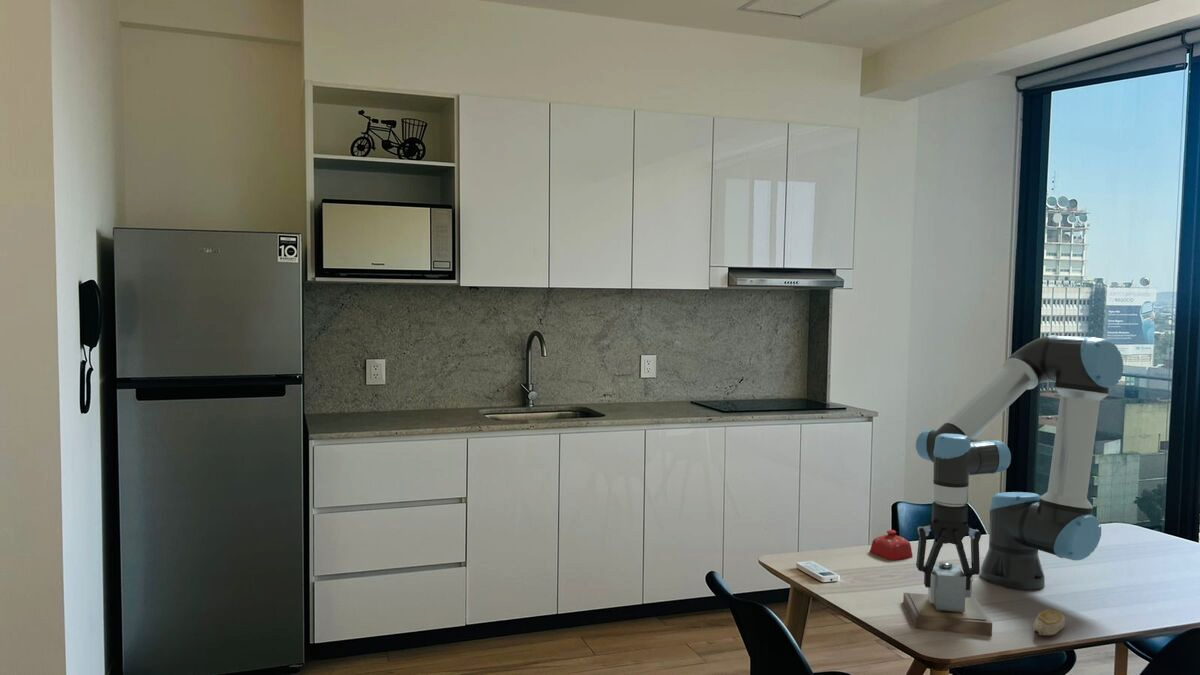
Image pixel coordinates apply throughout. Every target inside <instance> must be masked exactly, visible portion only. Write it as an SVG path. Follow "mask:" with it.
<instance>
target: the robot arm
mask: <svg viewBox="0 0 1200 675" xmlns="http://www.w3.org/2000/svg"><path fill="white" fill-rule="evenodd" d="M1123 373H1124V360H1123V357H1122V354H1121V351H1120V350H1119V348H1118V346H1117V345H1116V344H1115V343H1114V342H1112V341H1110V340H1109V339H1107V338H1100V337H1095V336H1075V335H1074V336H1070V335H1061V334H1058V335H1057V334H1053V335H1052V334H1051V335H1046V336H1045V335H1044V336H1042V337H1039V338H1037V339H1034V340H1032V341H1030V342H1029V343H1025V345H1024V346H1022V347H1020V348H1019V349H1017V350H1016V351H1015V352H1014V353H1012V354H1011V355H1010V356H1009V357H1008V358H1006V360H1004V361H1003V364H1002V369H1001V370H1000V371H999V372H998V373H996V375H994V376H993V377H992V378H991V379H990V380H989V381H988V382H987V383H986V384H985V385H984V386H982V388H980V389H979V390H978V391H977V392H976V393H975V394H974V395H973V396H972V397H971V398H970V399H969V400H968V401H966V402H965V403H964V404H963V405H962V406H961V407H960V408H959V409H958V410H957V411H956V412H955V413H953V415H952V416H950V417H949V418H948V419H947V420H946V421H945V422H944V423H943V424H942V425H940V427H939V428H937V430H934V429H926V430H923V431H921V432H920V433H919V434H918V436H917V437H916V440H915V450H916V452H917V454H918V456H920V458H922V459H924V460H926V461H928V462H932V463H933V478H932V480H933V485H932V500H933V502H931V503H932V505H931V521H930V522H929V524H928V525H926V526H922V525H918V526H917V527H916V530H917V533H918V542H917V544H918V545H917V552H916V562H915V567H916V568H917V570H918V571H919V572H923V573H924V574H923V579H924V580H923V584H924V586H925V588H926V589H927V588H928V591H927V593H928V600H929V602H930V603H934V583H935V575H934V573H933V572H932V570H933V568H934V565H935V563H937V560H938V557H939V554H940V552H941V549H942V548H943V545H944V544H945V545H946V544H951V545H955V548H956V551H957V555H958V558H959V561H960V565H961V568H962V569H961V570H962V572H963V573H964V575H965V576H966V590H970V581H971V577H972V576H975V575H980V577H981V578H982V580H984V581H986V582H987V583H989V584H991V585H994V586H997V587H1001V588H1005V589H1010V590H1017V591H1019V590H1020V591H1034V590H1039V589H1042V588H1044V587H1045V580H1046V578H1045V574H1044V570H1043V566H1042V564H1041V560H1040V557H1039V551H1041V552H1043V553H1048V554H1051V555H1053V556H1056V557H1058V558H1060V559H1066V560H1071V561H1082V560H1085V559H1086V558H1088V557H1089V556H1091V554H1092V553H1094V551H1095V550H1096V549H1097V547H1098V545H1099V543H1100V541H1101V537H1102V525H1101V524H1100V520H1099V519H1098V518H1097V517H1095V515H1093V511H1094V510H1093V509H1094V506H1093V505H1092V503H1091V502H1090V501H1089V500H1088V493H1089V484H1090V478H1091V472H1092V471H1091V470H1092V463H1093V455H1094V448H1095V439H1096V434H1097V425H1098V419H1099V410H1100V402H1101V401H1102V400H1103V399H1105V398H1106V397H1107V396H1109V390H1110V388H1113V387H1115V386H1117V385H1118V384H1119V383H1120V382H1119V381H1120V380H1121V379H1122V377H1123ZM1049 381H1052V382H1055V383H1054V390H1055V391H1056V393H1058V394H1059V396H1060V398H1059V403H1058V404H1059V405H1058V412H1057V420H1056V426H1055V433H1054V434H1055V435H1054V441H1053V450H1052V456H1051V465H1050V470H1049V471H1050V472H1049V477H1048V478H1049V479H1048V485H1047V486H1048V487H1047V492H1045V493H1044V494H1042V495H1040V494H1038V493H1034V492H1026V491H1025V492H1023V491H1011V492H1010V491H1007V492H1006V491H1005V492H997V493H995V494H994V495H993V496H992V497H991V500H990V508H989V525H988V526H989V529H988V531H989V532H988V534H989V536H988V539H989V540H988V550H987V552H986V554H985V557H984V560H983V562H982V564H981V567H980V541H981V537H982V533H981V532H980V530H979V529H978V528H975V529H973V528H971V527H970V526H969V524H968V515H969V514H968V511H969V509H968V508H969V507H968V503H969V485H970V484H969V482H970V476H976V475H985V474H986V475H988V474H992V475H993V474H997V473H1001V472H1004V471H1005V470H1007V469H1008V468H1009V466H1010V464H1011V462H1012V461H1011V460H1012V453H1011V451H1010V448H1009V447H1008V445H1007V444H1005V443H1004V442H1003V441H1001V440H998V439H994V440H993V439H987V440H982V439H976V438H977V437H978V436H979V435H981V433H983V432H984V431H985V430H986V429H987V428H988V427H989V426H990V425H991V424H992V423H993V422H994V421H995V420H997V418H998V417H999V416H1001V414H1002V413H1003V412H1005V410H1006V409H1008V407H1010V406H1011V405H1012V404H1013V403H1014V402H1015V401H1016V400H1017V399H1018V398H1019V397H1021V395H1023V393H1024V392H1025V391H1027V390H1032V389H1035V388H1036V387H1037V386H1038V385H1039V384H1041V383H1044V382H1049ZM930 532H931V533H932V534H933V536H934V539H933V544H932V545H931V549H930V552H929V554H928V556H927V560H926V562H925V558H926V557H925V556H926V550H927V537H928V536H929V535H930ZM967 535H968V536H969V538H970V558H971V559H970V560H971V562H970V565H971V567H970V565H969V561H968V559H967V556H966V552H965V548H964V542H963V539H964V538H965V536H967Z"/></svg>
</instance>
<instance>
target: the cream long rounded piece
mask: <svg viewBox="0 0 1200 675" xmlns="http://www.w3.org/2000/svg"><path fill="white" fill-rule="evenodd" d="M1065 624H1066V616H1065V614H1064V613H1063V612H1061V611H1059V610H1056V609H1052V608H1051V609H1045V610H1042V611H1041V612H1040V613H1038V614H1037V616H1036V617H1035V619H1034V622H1033V625H1032V632H1033V633H1035V634H1036V635H1039V636H1043V637H1044V636H1053V635H1056V634H1058V632H1060V631H1062V629H1064V627H1065Z"/></svg>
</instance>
